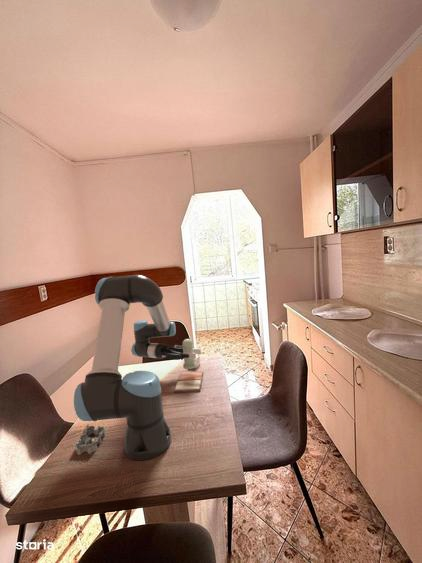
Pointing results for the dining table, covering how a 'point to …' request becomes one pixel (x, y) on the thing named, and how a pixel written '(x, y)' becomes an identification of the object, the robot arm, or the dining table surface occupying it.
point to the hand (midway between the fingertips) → (197, 353)
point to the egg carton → (89, 439)
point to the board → (189, 382)
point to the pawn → (189, 348)
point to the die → (197, 361)
